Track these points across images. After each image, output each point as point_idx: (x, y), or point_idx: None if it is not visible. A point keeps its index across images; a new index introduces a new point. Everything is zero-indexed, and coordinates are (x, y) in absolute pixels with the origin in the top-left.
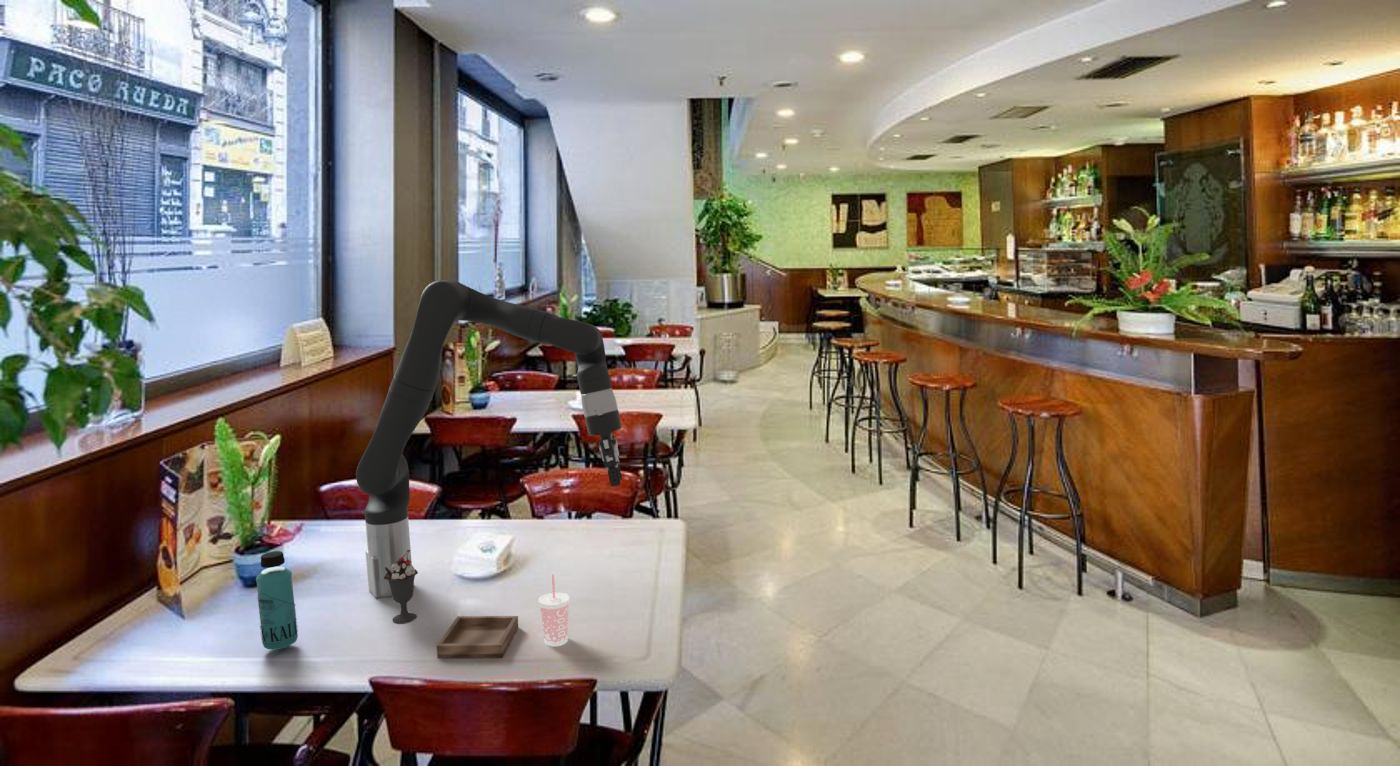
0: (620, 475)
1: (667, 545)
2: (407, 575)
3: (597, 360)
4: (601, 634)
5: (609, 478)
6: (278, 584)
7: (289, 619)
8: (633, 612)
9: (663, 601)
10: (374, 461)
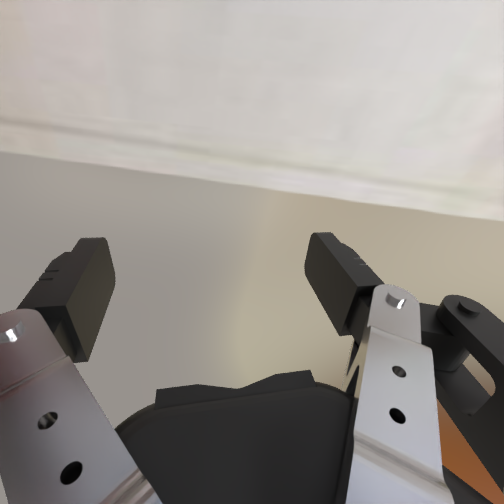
0: (311, 282)
1: (434, 201)
2: None
3: None
4: (48, 27)
5: (65, 265)
6: None
7: None
8: (157, 109)
9: (200, 166)
10: None
